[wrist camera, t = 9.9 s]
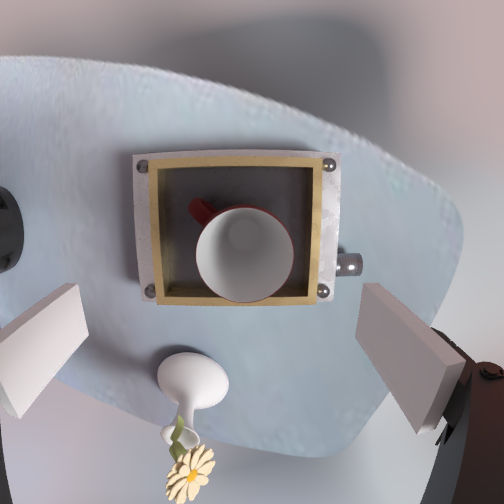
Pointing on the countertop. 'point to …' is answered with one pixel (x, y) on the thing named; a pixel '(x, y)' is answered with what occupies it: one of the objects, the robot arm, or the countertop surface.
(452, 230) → the countertop surface
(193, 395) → the flower in vase
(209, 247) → the mug
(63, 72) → the countertop surface
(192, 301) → the gold rimmed tray box
